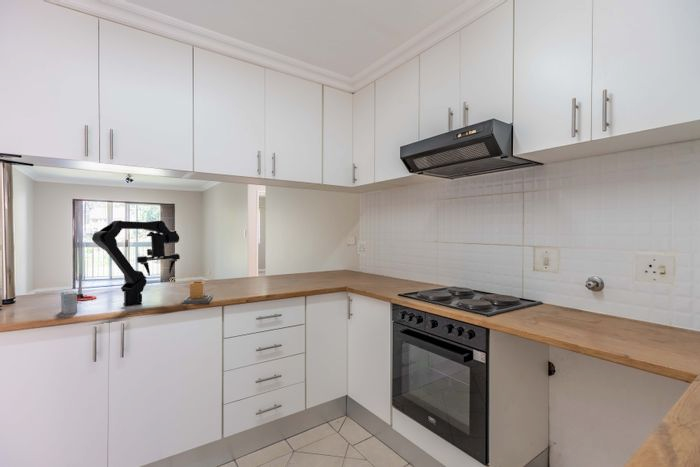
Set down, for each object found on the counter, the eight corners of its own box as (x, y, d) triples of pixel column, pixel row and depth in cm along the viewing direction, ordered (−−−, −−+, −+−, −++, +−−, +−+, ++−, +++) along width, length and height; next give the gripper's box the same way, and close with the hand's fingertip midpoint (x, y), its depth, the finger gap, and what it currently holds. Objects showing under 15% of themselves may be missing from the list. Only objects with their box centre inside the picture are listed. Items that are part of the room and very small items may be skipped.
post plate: (181, 303, 157) (181, 293, 157) (187, 298, 169) (187, 288, 169) (208, 302, 160) (208, 292, 160) (212, 297, 172) (212, 287, 172)
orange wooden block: (190, 300, 161) (190, 283, 161) (192, 298, 167) (192, 281, 167) (202, 299, 163) (203, 283, 163) (204, 297, 168) (204, 281, 168)
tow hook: (100, 299, 169) (87, 297, 171) (101, 274, 168) (87, 273, 170) (83, 302, 160) (69, 300, 163) (84, 277, 160) (70, 275, 162)
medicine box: (77, 312, 139) (77, 293, 139) (63, 314, 136) (63, 294, 136) (74, 309, 144) (74, 290, 144) (61, 311, 141) (60, 291, 141)
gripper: (175, 242, 178) (176, 270, 179) (135, 244, 166) (136, 274, 167) (179, 243, 169) (180, 272, 170) (137, 246, 158) (138, 277, 159)
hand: (159, 274), depth 167 cm, fingers open, 9 cm apart
